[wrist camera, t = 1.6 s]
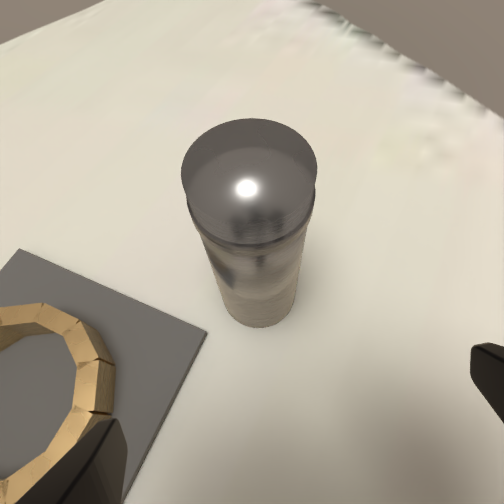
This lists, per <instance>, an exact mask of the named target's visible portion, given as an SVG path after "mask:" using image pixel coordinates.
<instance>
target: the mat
mask: <svg viewBox="0 0 504 504" xmlns="http://www.w3.org/2000/svg"><path fill="white" fill-rule="evenodd" d="M34 303H46V304H48V305H50V306H52V307H54V308H56V309H58V310H60V311H63V312H65V313H67V314H69V315H71V316H73V317H75V318H77V319H79V320H81V321H82V322H84V323H86V324H88V325H89V326H91V327H93V328H94V329H96V330H97V331H98V332H99V333H100V335H101V337H102V339H103V341H104V343H105V345H106V347H107V349H108V350H109V352H110V354H111V356H112V358H113V360H114V362H115V364H116V365H115V366H114V367H116V379H115V392H114V406H113V413H107V414H109V415H111V416H112V417H111V418H117V419H118V420H119V422H120V424H121V427H122V430H123V433H124V436H125V439H126V442H127V446H128V455H127V463H126V470H125V477H124V485H123V492H122V499H121V504H122V503H123V501H124V499H125V497H126V495H127V493H128V491H129V489H130V487H131V485H132V483H133V481H134V479H135V477H136V475H137V473H138V471H139V469H140V467H141V465H142V463H143V461H144V459H145V457H146V455H147V453H148V451H149V449H150V447H151V445H152V443H153V441H154V439H155V437H156V435H157V433H158V431H159V429H160V427H161V425H162V423H163V421H164V419H165V417H166V415H167V413H168V411H169V409H170V407H171V405H172V403H173V401H174V399H175V397H176V395H177V393H178V391H179V389H180V387H181V385H182V383H183V381H184V379H185V377H186V375H187V373H188V371H189V369H190V367H191V365H192V363H193V361H194V359H195V357H196V355H197V353H198V351H199V349H200V347H201V345H202V343H203V341H204V339H205V337H206V335H207V332H206V331H204V330H202V329H200V328H197V327H195V326H193V325H191V324H188V323H186V322H184V321H182V320H179V319H177V318H175V317H173V316H170V315H168V314H166V313H164V312H161V311H159V310H157V309H155V308H152V307H150V306H148V305H146V304H143V303H141V302H139V301H137V300H134V299H132V298H130V297H128V296H125V295H123V294H121V293H119V292H116V291H114V290H112V289H110V288H107V287H105V286H103V285H101V284H98V283H96V282H94V281H92V280H89V279H87V278H85V277H82V276H80V275H78V274H76V273H73V272H71V271H69V270H67V269H64V268H62V267H60V266H58V265H55V264H53V263H51V262H49V261H46V260H44V259H42V258H40V257H37V256H35V255H33V254H31V253H28V252H26V251H24V250H22V249H18V250H17V251H16V253H15V254H14V255H13V256H12V257H11V259H10V260H9V261H8V262H7V263H6V265H5V266H4V267H3V268H2V269H1V271H0V307H9V306H17V305H26V304H34ZM76 372H77V365H76V363H75V361H74V359H73V357H72V354H71V352H70V350H69V348H68V346H67V344H66V341H65V339H64V337H63V336H62V335H60V334H58V333H50V334H42V335H33V336H25V337H24V338H22V339H20V340H19V341H17V342H15V343H14V344H12V345H11V346H9V347H7V348H6V349H4V350H3V351H1V352H0V479H4V478H8V477H10V476H11V475H13V474H14V473H15V472H17V471H18V470H20V469H21V468H22V467H24V466H25V465H27V464H28V463H29V462H31V461H32V460H34V459H35V458H36V457H38V456H39V455H41V454H42V453H43V452H45V451H46V450H47V448H48V446H49V445H50V443H51V442H52V440H53V438H54V437H55V435H56V433H57V432H58V430H59V429H60V427H61V425H62V424H63V422H64V420H65V419H66V417H67V416H68V414H69V412H70V411H71V409H72V404H73V396H74V388H75V380H76Z"/></svg>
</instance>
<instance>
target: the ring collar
mask: <svg viewBox="0 0 504 504" xmlns="http://www.w3.org/2000/svg"><path fill="white" fill-rule="evenodd" d="M50 333H58V334H60V335H62V336H63V337H64V339H65V341H66V344H67V346H68V348H69V350H70V352H71V354H72V357H73V359H74V361H75V363H76V365H77V372H76V380H75V388H74V396H73V404H72V409H71V411H70V412H69V414H68V416H67V417H66V419H65V420H64V422H63V424H62V425H61V427H60V429H59V430H58V432H57V433H56V435H55V437H54V438H53V440H52V442H51V443H50V445H49V446H48V448H47V450H46V451H45V452H43V453H42V454H41V455H39V456H38V457H36V458H35V459H34V460H32V461H31V462H29V463H28V464H27V465H25V466H24V467H22V468H21V469H20V470H18V471H17V472H15V473H14V474H13V475H11V476H10V477H8V478H4V479H0V504H15V503H16V502H17V501H18V500H19V499H20V498H21V497H22V496H23V495H24V494H25V493H26V492H27V491H28V490H29V489H30V488H31V487H32V486H33V485H34V484H35V483H36V482H37V481H38V480H39V479H40V478H41V477H42V476H43V475H44V474H45V473H46V472H47V471H48V470H50V469H51V468H52V467H53V466H54V465H55V464H56V463H57V462H58V461H59V460H60V459H61V458H62V457H63V456H64V455H65V454H66V453H67V452H68V451H69V450H70V449H71V448H72V447H73V446H74V445H75V444H76V443H77V442H78V441H79V440H80V439H81V438H82V437H83V436H84V435H85V434H86V433H87V432H88V431H89V430H90V429H91V428H92V427H93V426H94V425H96V424H97V423H98V422H99V421H101V420H105V419H110V418H111V417H112V416H111V415H109V414H107V413H113V406H114V392H115V379H116V367H114V366H115V365H116V364H115V362H114V360H113V358H112V356H111V354H110V352H109V350H108V349H107V347H106V345H105V343H104V341H103V339H102V337H101V335H100V333H99V332H98V331H97V330H96V329H94V328H93V327H91V326H89V325H88V324H86V323H84V322H82V321H81V320H79V319H77V318H75V317H73V316H71V315H69V314H67V313H65V312H63V311H60V310H58V309H56V308H54V307H52V306H50V305H48V304H46V303H34V304H26V305H17V306H9V307H0V352H1V351H3V350H4V349H6V348H7V347H9V346H11V345H12V344H14V343H15V342H17V341H19V340H20V339H22V338H24V337H25V336H33V335H42V334H50Z"/></svg>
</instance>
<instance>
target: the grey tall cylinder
mask: <svg viewBox="0 0 504 504" xmlns="http://www.w3.org/2000/svg"><path fill="white" fill-rule="evenodd" d="M316 175H317V162H316V158H315V155H314V152H313V150H312V148H311V146H310V145H309V144H308V142H307V141H306V140H305V139H304V138H303V137H302V136H301V135H300V134H299V133H297V132H296V131H295V130H293V129H291V128H290V127H288V126H286V125H283V124H281V123H278V122H275V121H271V120H266V119H255V118H249V119H239V120H233V121H229V122H226V123H223V124H220V125H218V126H216V127H214V128H212V129H210V130H208V131H207V132H205V133H204V134H202V135H201V136H200V137H199V138H198V139H197V140H196V141H195V142H194V143H193V144H192V145H191V146H190V148H189V149H188V151H187V153H186V155H185V157H184V159H183V163H182V167H181V179H182V184H183V188H184V191H185V193H186V198H187V205H188V209H189V212H190V215H191V218H192V221H193V223H194V225H195V227H196V229H197V231H198V232H199V234H200V236H201V239H202V241H203V244H204V247H205V250H206V253H207V256H208V258H209V261H210V264H211V267H212V270H213V273H214V275H215V278H216V281H217V284H218V287H219V290H220V292H221V295H222V298H223V301H224V304H225V306H226V309H227V311H228V312H229V314H230V315H231V316H232V317H233V318H234V319H235V320H236V321H238V322H239V323H241V324H243V325H245V326H248V327H253V328H264V327H269V326H272V325H274V324H276V323H278V322H279V321H281V320H282V319H283V318H284V317H285V316H286V315H287V314H288V313H289V311H290V309H291V307H292V305H293V302H294V296H295V291H296V285H297V280H298V274H299V269H300V264H301V258H302V253H303V247H304V242H305V236H306V231H307V225H308V223H309V222H310V219H311V216H312V211H313V206H314V201H315V181H316Z"/></svg>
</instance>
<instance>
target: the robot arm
mask: <svg viewBox="0 0 504 504" xmlns="http://www.w3.org/2000/svg"><path fill="white" fill-rule="evenodd" d="M470 375H471V378H472V380H473V382H474V384H475V385H476V386H477V388H478V389H479V390H480V392H481V393H482V395H483V396H484V397H485V399H486V400H487V401H488V403H489V404H490V405H491V407H492V408H493V409H494V411H495V412H496V414H497V415H498V416H499V418H500V419H501V420H502V422H503V423H504V347H503V346H500V345H497V344H493V343H482V344H477V345H474V346H473V347H472V348H471V359H470ZM127 455H128V446H127V442H126V439H125V436H124V433H123V430H122V427H121V424H120V422H119V420H118V419H117V418H110V419H105V420H101V421H99V422H98V423H97V424H96V425H94V426H93V427H92V428H91V429H90V430H89V431H88V432H87V433H86V434H85V435H84V436H83V437H82V438H81V439H80V440H79V441H78V442H77V443H76V444H75V445H74V446H73V447H72V448H71V449H70V450H69V451H68V452H67V453H66V454H65V455H64V456H63V457H62V458H61V459H60V460H59V461H58V462H57V463H56V464H55V465H54V466H53V467H52V468H51V469H50V470H48V471H47V472H46V473H45V474H44V475H43V476H42V477H41V478H40V479H39V480H38V481H37V482H36V483H35V484H34V485H33V486H32V487H31V488H30V489H29V490H28V491H27V492H26V493H25V494H24V495H23V496H22V497H21V498H20V499H19V500H18V501H17V502H16V503H15V504H121V499H122V492H123V485H124V477H125V470H126V463H127Z"/></svg>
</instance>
